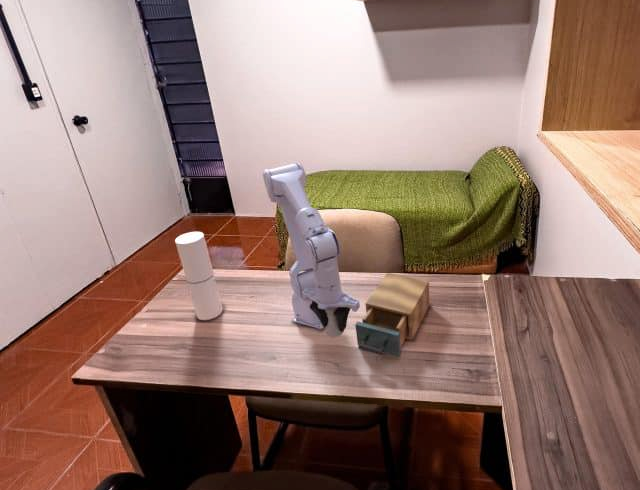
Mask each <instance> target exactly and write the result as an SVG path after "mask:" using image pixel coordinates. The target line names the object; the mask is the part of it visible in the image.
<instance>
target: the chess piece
mask: <svg viewBox="0 0 640 490" xmlns="http://www.w3.org/2000/svg"><path fill="white" fill-rule="evenodd" d="M337 308H338V307H327V308H326V309H325V312H326V313H328V314H327V317H328V324H327V326H326V327H325V333H326V335H327V336H328V337H330V338H332V339H333V338H339V337H341V336H342V335H343V334H344V332H345V330H344V331H343V332H340V330H339V327H338V322H337V319H336V317H335V316H334V314H333V313H334V312H335V310H336V309H337Z"/></svg>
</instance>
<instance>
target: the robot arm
mask: <svg viewBox="0 0 640 490" xmlns="http://www.w3.org/2000/svg"><path fill="white" fill-rule="evenodd" d="M305 171H306V170H305V168H304V167H303V165H302V164H301V163H299V162H296V163H294V164H293V163H292V164H289V165H284V166H280V167H275V168H269V169H264V171H263V173H262V178H263V182H264V185H265V189H266V192H267V196H268V198H269V201H270V202H271V203H275V204H277V205H278V207H279V209H280V211H281V213H282V218H283V220H284V221H283V222H284V224H285V227H286V231H287V234H288V237H289V241H290V245H291V247H292V251H293V254H294V257H295V262H294V263H293V265H292V266H291V268H290V269H289V272H288V275H289V278H290V284H291V287H292V291H293V294H292V297H291V304H292V305H291V306H292V309H293V314H294V319H293V322H294V323H297V324H301V325H303V326H304V325H305V326H308V327H312V328H315V329H318V330H323V329H324V328H326V327H327V324H328V317H327V314H328V313H326V312H325V309H326V308H327V307H338V308H337V309H336V310H335V312H334V313H333V314H334V316H335V317H336V319H337V322H338V327H339V330H340V332H343V331H344V332H345V330H346V328H347V323H348V317H349V315H350V311H352V312H354V313H357V312H358V310H359V309H360V307H361V306H360V305H361V303H360V300H359V299H357V298H354V297H352V296H350V294H349V295H348V293H345V292H343V291H342V285H341V284H342V283H341V278H340V268H339V262H338V255H340V254H341V246H340V241H339V239H338V237H337V234H336V233H335V231H334V230H333V229H332V228H331V227H329V226H328V227H327V224H326V223H325V221H324V219H323V217H322V216H321V214H320V211H319V210H318V209H317V208H315V207H312V206H311V204H310V201H309V199H308V196H307V193H306V191H305V189H306V188H307V187H306V184H307V174H306V172H305ZM344 332H343V333H344Z"/></svg>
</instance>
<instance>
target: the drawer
mask: <svg viewBox="0 0 640 490" xmlns="http://www.w3.org/2000/svg"><path fill="white" fill-rule="evenodd" d="M354 326H355V335H356V342H357V348H358V350H359V351H360V350H361V351H364V352H366V353H370V354H374V355H378V356H382V357H383V355H384V354H387V355H391V356H395V357H398V358H400V357H401V355H402V346H403V345H404V342H405V341H406V339H405V338H406V337H407V335H408V333H409V325H408V316H407V315H403V314H399V313H394V312H390V311H386V310H382V309H378V308H373V307H371V308H370V309H369V310H368V312H367V313H366V312H365V315H364V316H363V317H362V321H358V320H357V321H356V323H355V324H354Z"/></svg>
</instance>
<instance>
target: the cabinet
mask: <svg viewBox="0 0 640 490" xmlns="http://www.w3.org/2000/svg"><path fill="white" fill-rule="evenodd" d="M371 307H373V308H378V309H382V310H386V311H390V312H394V313H399V314H403V315H407V316H408V325H409V333H408V335H407V337H406V338H405V340H409V341H413V339H414V337H415V335H416V333H417V331H418V330H419V327H420V325H421V323H422V321H423V319H424V317H425V316H426V313H427V312H428V309H429V307H430V281H429V280H427V279H421V278H415V277H411V276H406V275H402V274H401V275H400V274H397V273H390V272H387V273H386V274H385V275H384V277H383V278H382V279H381V281H380V282H379V284H378V285H377V287H376V288H375V289H374V290H373V292H372V294H371V295H370V296H369V297H368V299H367V300H366V302H365V314H366V313H367V312H368V310H369V309H370V308H371Z"/></svg>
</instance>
